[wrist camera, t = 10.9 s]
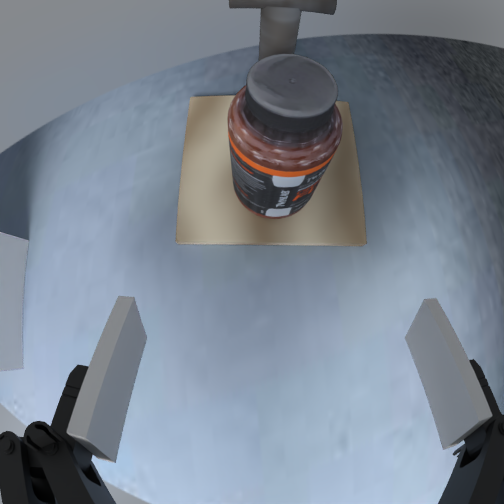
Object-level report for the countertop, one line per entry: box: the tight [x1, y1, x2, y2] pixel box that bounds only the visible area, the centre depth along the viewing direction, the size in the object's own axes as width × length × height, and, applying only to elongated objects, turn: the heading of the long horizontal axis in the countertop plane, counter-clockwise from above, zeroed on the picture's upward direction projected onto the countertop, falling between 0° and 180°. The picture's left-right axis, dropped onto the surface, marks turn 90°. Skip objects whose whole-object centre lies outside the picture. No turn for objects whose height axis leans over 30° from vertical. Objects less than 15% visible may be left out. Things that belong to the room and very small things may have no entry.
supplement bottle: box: [227, 54, 343, 219], centre depth 17 cm, size 6×6×11 cm
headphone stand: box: [176, 0, 367, 246], centre depth 17 cm, size 14×13×13 cm
